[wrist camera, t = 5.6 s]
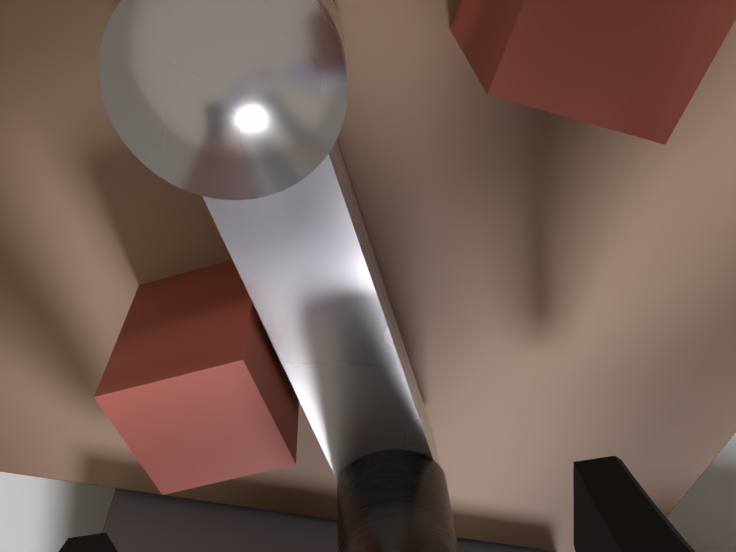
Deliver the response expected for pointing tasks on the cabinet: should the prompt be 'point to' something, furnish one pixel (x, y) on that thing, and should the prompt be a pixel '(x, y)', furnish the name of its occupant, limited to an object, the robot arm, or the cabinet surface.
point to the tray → (229, 528)
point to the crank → (288, 231)
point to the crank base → (395, 262)
